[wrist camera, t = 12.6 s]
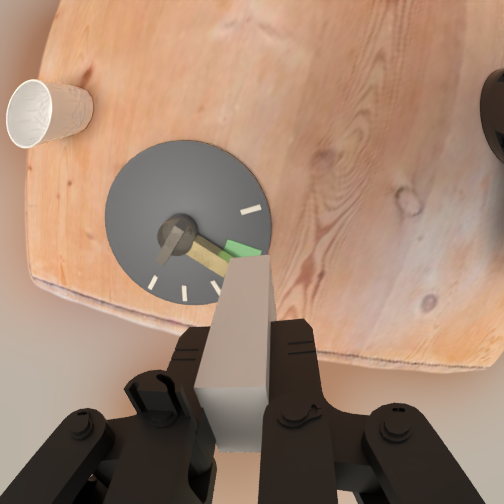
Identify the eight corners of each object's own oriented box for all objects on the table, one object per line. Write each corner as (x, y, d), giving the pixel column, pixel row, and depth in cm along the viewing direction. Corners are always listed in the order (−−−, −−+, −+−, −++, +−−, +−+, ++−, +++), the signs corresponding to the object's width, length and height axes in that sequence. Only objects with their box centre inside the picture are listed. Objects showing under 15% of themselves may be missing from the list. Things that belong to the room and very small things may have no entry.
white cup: (73, 73, 32) (26, 67, 23) (108, 102, 34) (63, 101, 24) (45, 119, 34) (-2, 125, 25) (77, 149, 36) (31, 161, 27)
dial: (104, 143, 36) (98, 144, 34) (276, 143, 35) (276, 143, 34) (119, 292, 44) (115, 297, 43) (265, 306, 44) (264, 312, 42)
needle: (157, 236, 39) (143, 253, 34) (175, 204, 37) (162, 217, 32) (241, 288, 41) (237, 311, 36) (263, 260, 39) (261, 280, 35)
